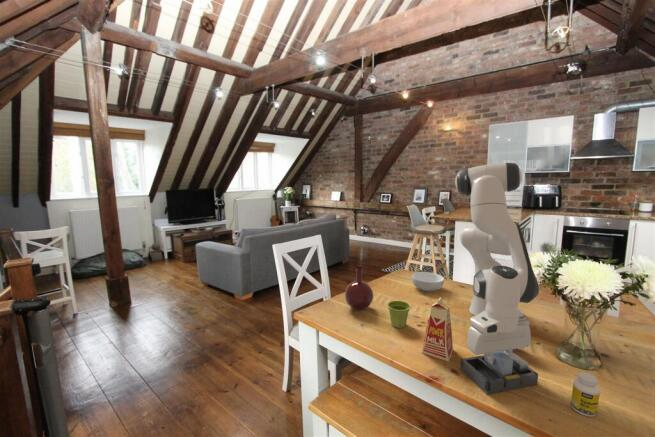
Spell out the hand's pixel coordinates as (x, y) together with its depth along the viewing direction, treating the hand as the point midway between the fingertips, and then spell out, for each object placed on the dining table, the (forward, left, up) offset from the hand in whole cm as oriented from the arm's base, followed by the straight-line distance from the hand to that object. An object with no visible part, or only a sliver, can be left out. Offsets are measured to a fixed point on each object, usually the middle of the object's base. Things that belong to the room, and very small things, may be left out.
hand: (497, 362), depth 95 cm
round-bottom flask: (+26, -57, -5) cm, 63 cm away
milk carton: (+10, -17, -5) cm, 20 cm away
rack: (0, 0, -5) cm, 5 cm away
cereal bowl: (-18, -71, -5) cm, 73 cm away
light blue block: (0, 0, -2) cm, 2 cm away
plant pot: (+15, -38, -5) cm, 41 cm away
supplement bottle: (-12, +17, -5) cm, 22 cm away
